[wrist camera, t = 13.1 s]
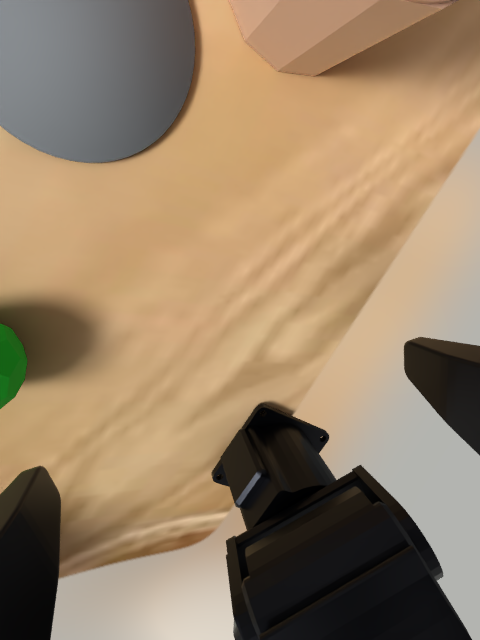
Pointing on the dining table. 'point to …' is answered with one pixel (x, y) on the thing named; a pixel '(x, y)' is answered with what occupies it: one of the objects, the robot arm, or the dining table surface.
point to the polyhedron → (10, 364)
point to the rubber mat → (93, 74)
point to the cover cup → (323, 28)
